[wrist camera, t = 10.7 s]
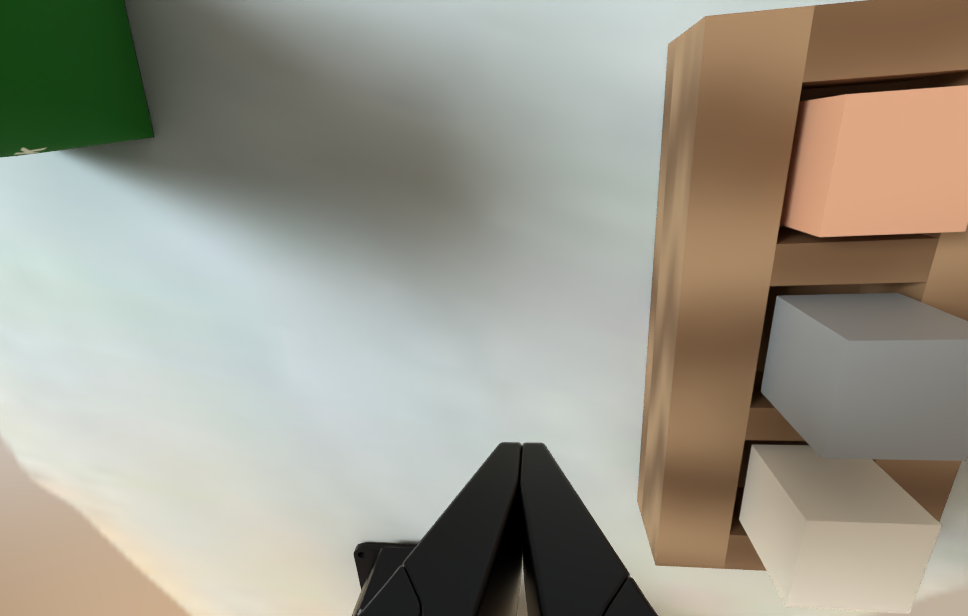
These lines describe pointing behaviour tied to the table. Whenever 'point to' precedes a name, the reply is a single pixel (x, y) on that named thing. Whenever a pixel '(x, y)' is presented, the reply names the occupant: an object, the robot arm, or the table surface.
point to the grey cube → (870, 376)
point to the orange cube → (880, 164)
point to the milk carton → (68, 76)
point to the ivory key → (835, 530)
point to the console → (768, 249)
